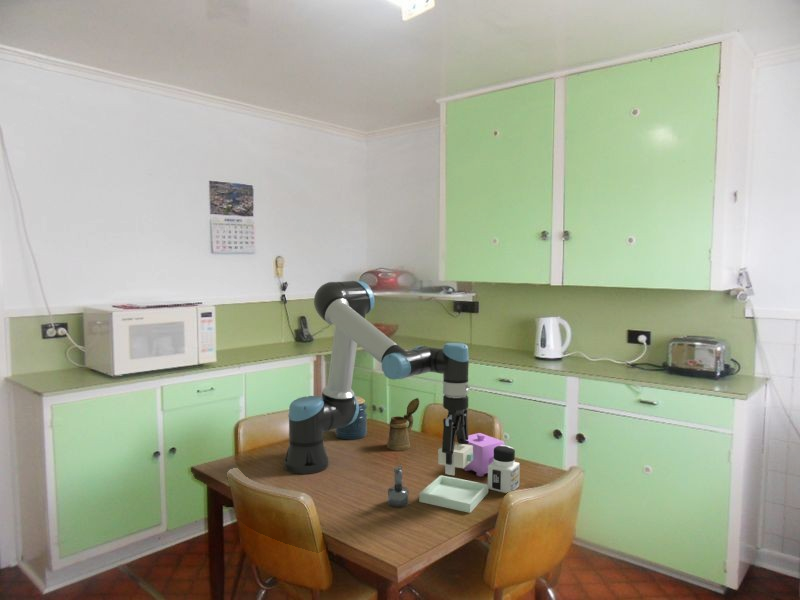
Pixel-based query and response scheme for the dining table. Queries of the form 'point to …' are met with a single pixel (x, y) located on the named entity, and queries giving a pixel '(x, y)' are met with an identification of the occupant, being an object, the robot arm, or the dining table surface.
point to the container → (503, 470)
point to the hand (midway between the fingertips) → (455, 469)
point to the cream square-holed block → (458, 455)
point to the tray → (454, 493)
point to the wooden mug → (402, 428)
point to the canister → (355, 424)
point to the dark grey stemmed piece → (398, 491)
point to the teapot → (482, 452)
